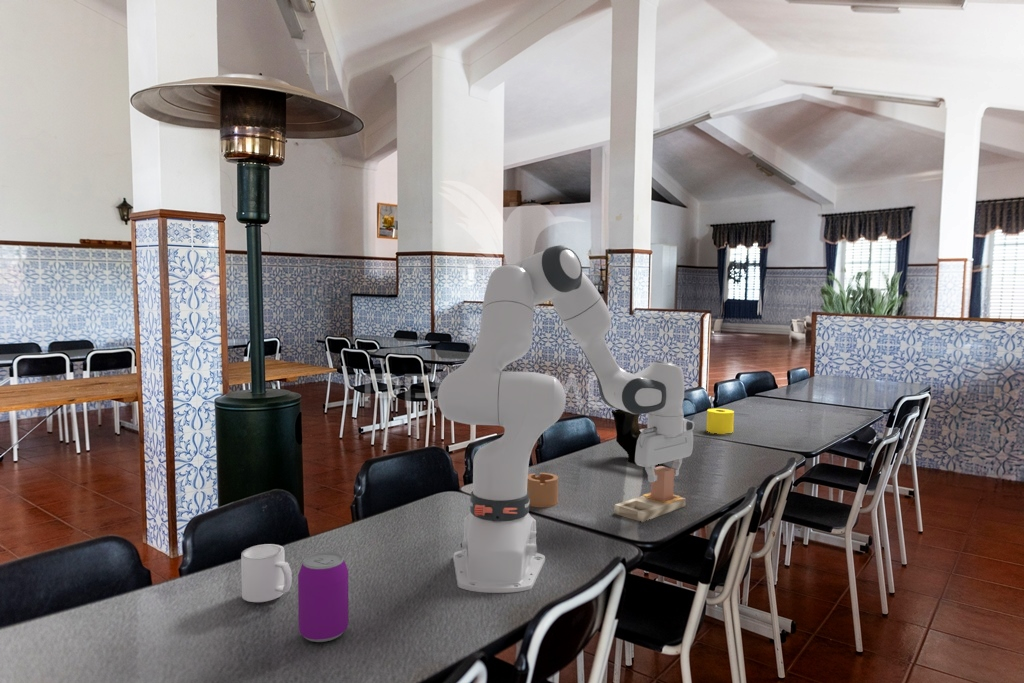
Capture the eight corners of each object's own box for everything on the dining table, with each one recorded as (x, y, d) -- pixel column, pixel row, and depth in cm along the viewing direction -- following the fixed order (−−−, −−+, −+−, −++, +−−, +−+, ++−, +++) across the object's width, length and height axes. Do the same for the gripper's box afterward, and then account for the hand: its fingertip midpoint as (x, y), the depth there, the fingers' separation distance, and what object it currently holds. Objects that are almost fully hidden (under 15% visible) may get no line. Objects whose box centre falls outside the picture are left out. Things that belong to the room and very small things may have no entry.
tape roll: (734, 433, 266) (735, 410, 266) (731, 438, 257) (732, 414, 257) (708, 431, 271) (709, 407, 270) (704, 435, 261) (705, 411, 261)
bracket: (560, 507, 173) (561, 481, 172) (528, 508, 171) (529, 481, 171) (546, 487, 190) (546, 463, 190) (517, 488, 189) (517, 463, 189)
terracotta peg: (663, 510, 171) (664, 471, 170) (650, 506, 174) (651, 468, 173) (672, 507, 173) (674, 469, 173) (660, 503, 176) (661, 465, 176)
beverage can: (288, 638, 106) (287, 564, 105) (318, 616, 113) (318, 546, 112) (329, 648, 103) (328, 572, 102) (358, 625, 110) (357, 553, 109)
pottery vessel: (688, 467, 214) (691, 405, 212) (671, 473, 206) (673, 409, 204) (622, 453, 231) (624, 395, 229) (603, 459, 223) (605, 399, 221)
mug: (304, 590, 123) (303, 549, 122) (276, 607, 116) (276, 564, 115) (261, 581, 126) (261, 541, 126) (232, 597, 119) (231, 555, 119)
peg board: (642, 523, 161) (642, 512, 161) (614, 514, 167) (614, 503, 167) (685, 508, 173) (685, 497, 173) (657, 500, 179) (657, 490, 179)
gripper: (650, 431, 162) (649, 488, 163) (698, 422, 176) (696, 474, 177) (629, 427, 167) (628, 483, 168) (677, 418, 181) (675, 469, 182)
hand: (663, 478), depth 173 cm, fingers open, 8 cm apart
